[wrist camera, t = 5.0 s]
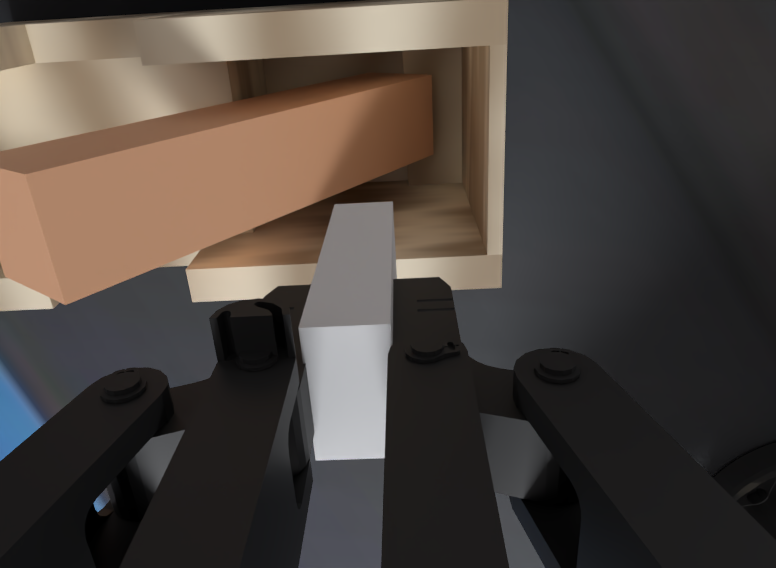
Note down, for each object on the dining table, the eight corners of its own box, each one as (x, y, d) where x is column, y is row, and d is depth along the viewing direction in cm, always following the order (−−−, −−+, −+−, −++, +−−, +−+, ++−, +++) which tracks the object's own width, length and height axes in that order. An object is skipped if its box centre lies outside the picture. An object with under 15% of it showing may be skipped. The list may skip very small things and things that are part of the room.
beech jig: (469, -7, 32) (508, -3, 21) (469, 199, 37) (501, 287, 26) (12, 21, 33) (-174, 39, 22) (69, 219, 38) (-62, 313, 27)
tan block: (368, 72, 33) (431, 74, 31) (373, 147, 35) (433, 154, 33) (-37, 158, 19) (24, 174, 17) (5, 276, 21) (65, 305, 19)
